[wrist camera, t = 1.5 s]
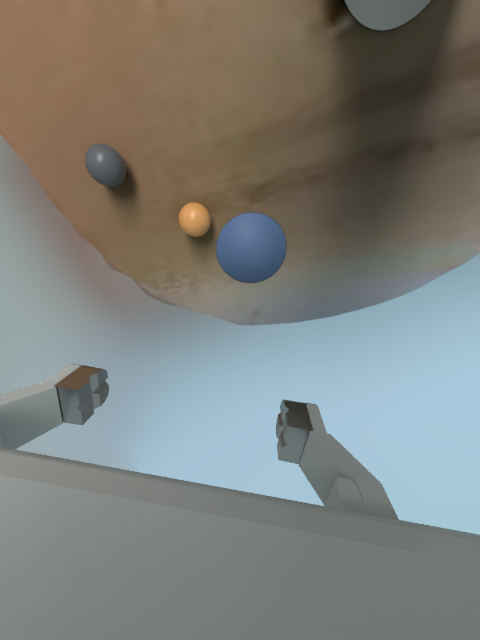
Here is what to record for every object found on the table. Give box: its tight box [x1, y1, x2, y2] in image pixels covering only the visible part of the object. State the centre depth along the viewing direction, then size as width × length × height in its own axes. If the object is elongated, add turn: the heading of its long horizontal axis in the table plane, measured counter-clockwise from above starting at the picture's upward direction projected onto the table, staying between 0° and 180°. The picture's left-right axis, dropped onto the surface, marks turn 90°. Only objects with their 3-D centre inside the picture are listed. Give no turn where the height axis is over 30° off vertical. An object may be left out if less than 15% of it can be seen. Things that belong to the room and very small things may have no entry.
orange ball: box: [179, 203, 211, 237], centre depth 40 cm, size 6×6×6 cm
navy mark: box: [216, 213, 286, 283], centre depth 46 cm, size 14×14×1 cm
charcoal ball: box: [85, 144, 126, 187], centre depth 35 cm, size 6×6×6 cm
